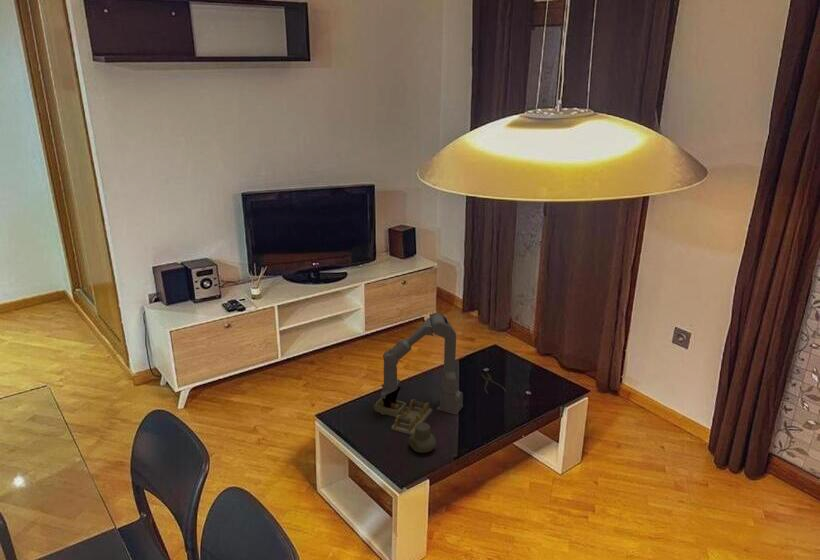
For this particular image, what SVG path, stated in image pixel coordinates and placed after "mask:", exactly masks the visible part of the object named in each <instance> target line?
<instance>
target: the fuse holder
mask: <svg viewBox="0 0 820 560" xmlns="http://www.w3.org/2000/svg"><path fill="white" fill-rule="evenodd" d="M413 400H416V401H417V399H416V398H413ZM426 403H428V409H427V410H425V407H423V409H422V408H418V407H414V406H412V404H410V403H409V404H408V406H407V407H406V410H405V411H404V412H402V415H401V416H404V417H407V418H412V419H415V424H414V426H411V424H409V425H408V424H405V423H401V422H397V420H395V419H394V423H393V424H392V425H391V431H392V430H393V431H396V432H400V433H403V434H406V435H410V436H411V435H412V434H413V433H415V426H416V425H417V424H418V423H425V421H426V419H427V418H428V417H429V416H430V415H431V413H432V412H433V408H430V402H426Z"/></svg>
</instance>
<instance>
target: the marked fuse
mask: <svg viewBox="0 0 820 560" xmlns="http://www.w3.org/2000/svg"><path fill="white" fill-rule="evenodd" d="M381 406H383V407H385V405H384V402H383V401H382V403H381ZM390 408H391V409H394V410H399V408H400V405H399V404H393V403H391V406H390Z"/></svg>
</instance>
